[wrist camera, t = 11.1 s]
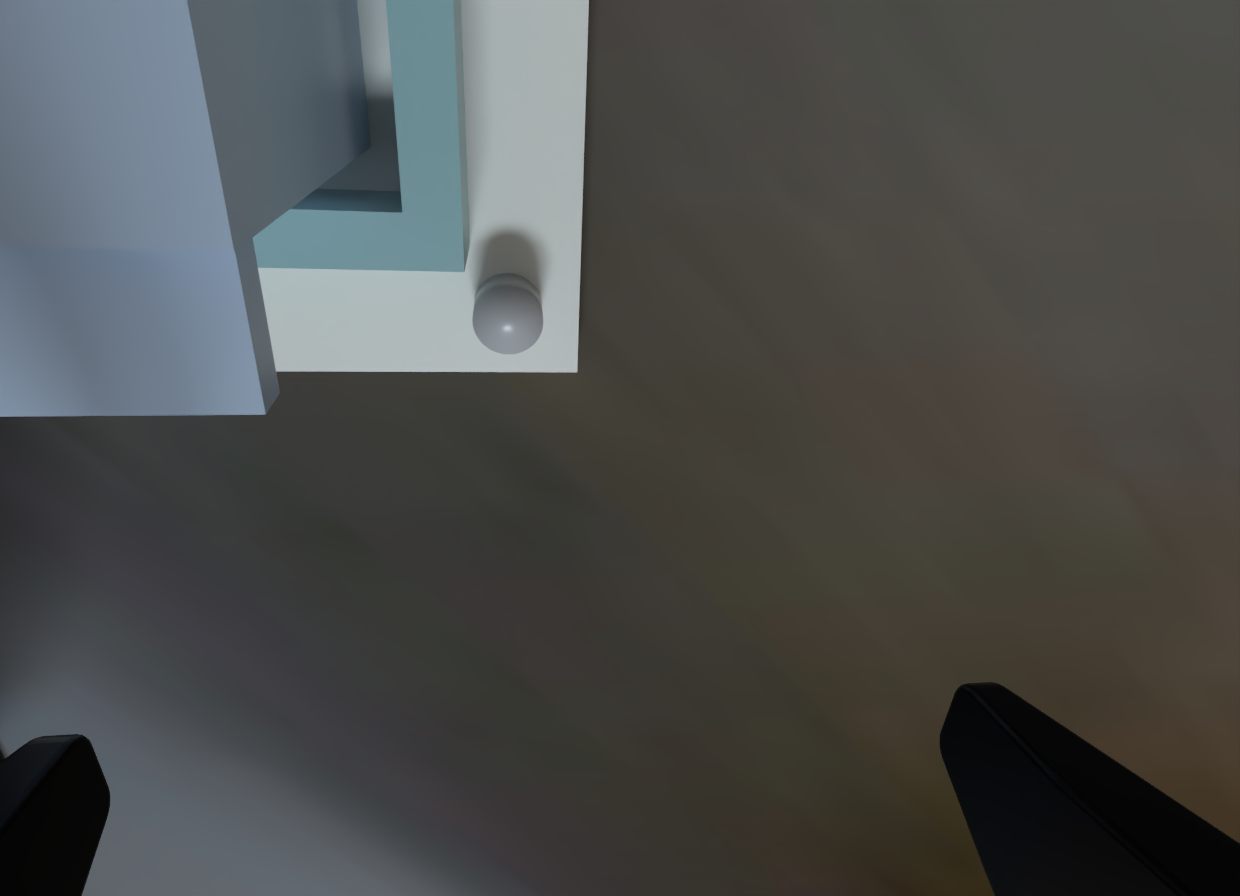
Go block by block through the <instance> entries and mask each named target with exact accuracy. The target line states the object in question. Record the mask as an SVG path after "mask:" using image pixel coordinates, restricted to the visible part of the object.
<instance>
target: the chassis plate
mask: <svg viewBox="0 0 1240 896" xmlns="http://www.w3.org/2000/svg"><path fill="white" fill-rule="evenodd" d="M357 8H358V18H359V28H360V39H361V49H362V59H363V70H364V80H365V90H366V101H367V111H368V121H369V131H370V142H371V147H370V148H369V149H368V150H366V151H365V152H364V153H362V154H361V155H360V156H358V157H357V158H356V159H355V160H353V161H352V162H351V163H349V164H348V165H347V166H345V167H344V168H343V169H342V170H340V171H339V172H338V173H336V174H335V175H334V176H332V177H331V178H330V179H328V180H327V181H326V182H325V183H323V184H322V185H321V186H319V187H318V188H317V189H315V190H314V191H313V192H311V193H310V194H309V195H308V196H306V197H305V198H304V199H302V200H301V201H300V202H298V203H297V204H296V205H295V206H293V207H292V208H291V209H289V210H288V211H287V212H285V213H284V214H283V215H281V216H280V217H279V218H278V219H276V220H275V221H274V222H272V223H271V224H270V225H268V226H267V227H266V228H265V229H263V230H262V231H261V232H259V233H258V234H257V235H255V236H254V237H253V243H254V249H255V254H256V260H257V266H258V272H259V277H260V283H261V289H262V294H263V300H264V306H265V312H266V317H267V323H268V329H269V334H270V340H271V346H272V351H273V357H274V363H275V369H276V371H351V372H577V361H578V329H579V297H580V266H581V234H582V202H583V170H584V139H585V107H586V75H587V43H588V11H589V0H357Z"/></svg>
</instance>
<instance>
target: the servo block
mask: <svg viewBox="0 0 1240 896" xmlns="http://www.w3.org/2000/svg"><path fill="white" fill-rule="evenodd" d="M370 147H371V142H370V131H369V121H368V111H367V101H366V90H365V80H364V70H363V59H362V49H361V39H360V28H359V18H358V8H357V0H0V417H9V416H140V415H266V413H267V412H268V410H269V409H270V407H271V406H272V404H273V403H274V401H275V400H276V398H277V396H278V395H279V393H280V391H279V386H278V380H277V374H276V369H275V363H274V357H273V351H272V346H271V340H270V334H269V329H268V323H267V317H266V312H265V306H264V300H263V294H262V289H261V283H260V277H259V272H258V266H257V260H256V254H255V249H254V243H253V237H254V236H255V235H257V234H258V233H259V232H261V231H262V230H263V229H265V228H266V227H267V226H268V225H270V224H271V223H272V222H274V221H275V220H276V219H278V218H279V217H280V216H281V215H283V214H284V213H285V212H287V211H288V210H289V209H291V208H292V207H293V206H295V205H296V204H297V203H298V202H300V201H301V200H302V199H304V198H305V197H306V196H308V195H309V194H310V193H311V192H313V191H314V190H315V189H317V188H318V187H319V186H321V185H322V184H323V183H325V182H326V181H327V180H328V179H330V178H331V177H332V176H334V175H335V174H336V173H338V172H339V171H340V170H342V169H343V168H344V167H345V166H347V165H348V164H349V163H351V162H352V161H353V160H355V159H356V158H357V157H358V156H360V155H361V154H362V153H364V152H365V151H366V150H368V149H369V148H370Z"/></svg>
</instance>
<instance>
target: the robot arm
mask: <svg viewBox="0 0 1240 896" xmlns="http://www.w3.org/2000/svg"><path fill="white" fill-rule="evenodd" d="M940 750H941V755H942V758H943V761H944V763H945V766H946V769H947V771H948V774H949V777H950V779H951V782H952V785H953V787H954V790H955V793H956V795H957V798H958V801H959V803H960V806H961V809H962V811H963V814H964V817H965V819H966V822H967V825H968V827H969V830H970V833H971V835H972V838H973V841H974V843H975V846H976V849H977V851H978V854H979V857H980V859H981V862H982V865H983V867H984V870H985V873H986V875H987V878H988V880H989V882H990V885H991V887H992V890H993V892H994V895H995V896H1240V843H1238V842H1237V841H1235V840H1234V839H1232V838H1231V837H1229V836H1228V835H1226V834H1225V833H1223V832H1222V831H1220V830H1219V829H1217V828H1216V827H1214V826H1213V825H1211V824H1210V823H1208V822H1207V821H1205V820H1204V819H1202V818H1201V817H1199V816H1198V815H1196V814H1195V813H1193V812H1192V811H1190V810H1189V809H1187V808H1186V807H1184V806H1183V805H1181V804H1180V803H1178V802H1177V801H1175V800H1174V799H1172V798H1171V797H1169V796H1168V795H1166V794H1165V793H1163V792H1162V791H1160V790H1159V789H1157V788H1156V787H1154V786H1153V785H1151V784H1150V783H1148V782H1147V781H1145V780H1144V779H1142V778H1141V777H1139V776H1138V775H1136V774H1135V773H1133V772H1132V771H1130V770H1129V769H1127V768H1126V767H1124V766H1123V765H1121V764H1120V763H1118V762H1117V761H1115V760H1114V759H1112V758H1111V757H1109V756H1108V755H1106V754H1105V753H1103V752H1102V751H1100V750H1099V749H1097V748H1096V747H1094V746H1093V745H1091V744H1090V743H1088V742H1087V741H1085V740H1084V739H1082V738H1081V737H1079V736H1078V735H1076V734H1075V733H1073V732H1072V731H1070V730H1069V729H1067V728H1066V727H1064V726H1063V725H1061V724H1060V723H1058V722H1057V721H1055V720H1054V719H1052V718H1051V717H1049V716H1048V715H1046V714H1045V713H1043V712H1042V711H1040V710H1039V709H1037V708H1036V707H1034V706H1033V705H1031V704H1030V703H1028V702H1027V701H1025V700H1024V699H1022V698H1021V697H1019V696H1018V695H1016V694H1015V693H1013V692H1012V691H1010V690H1009V689H1007V688H1005V687H1004V686H1002V685H1000V684H997V683H993V682H986V683H968V684H963V685H961V686H960V687H959V688H958V689H957V690H956V692H955V694H954V697H953V700H952V702H951V705H950V708H949V711H948V713H947V716H946V719H945V722H944V724H943V727H942V730H941V733H940ZM109 807H110V792H109V788H108V785H107V782H106V780H105V777H104V775H103V772H102V769H101V767H100V764H99V762H98V759H97V757H96V754H95V752H94V749H93V747H92V744H91V742H90V741H89V739H87V738H86V737H85V736H83V735H78V734H74V735H56V736H42V737H38V738H35V739H33V740H31V741H29V742H28V743H26V744H25V745H23V746H22V747H20V748H19V749H18V750H16V751H15V752H14V753H12V754H11V755H10V756H8V757H7V758H6V759H4V760H3V761H2V762H0V896H82V893H83V890H84V887H85V884H86V881H87V878H88V875H89V871H90V868H91V865H92V862H93V859H94V856H95V853H96V850H97V847H98V844H99V841H100V838H101V835H102V832H103V829H104V826H105V823H106V820H107V816H108V813H109Z"/></svg>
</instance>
